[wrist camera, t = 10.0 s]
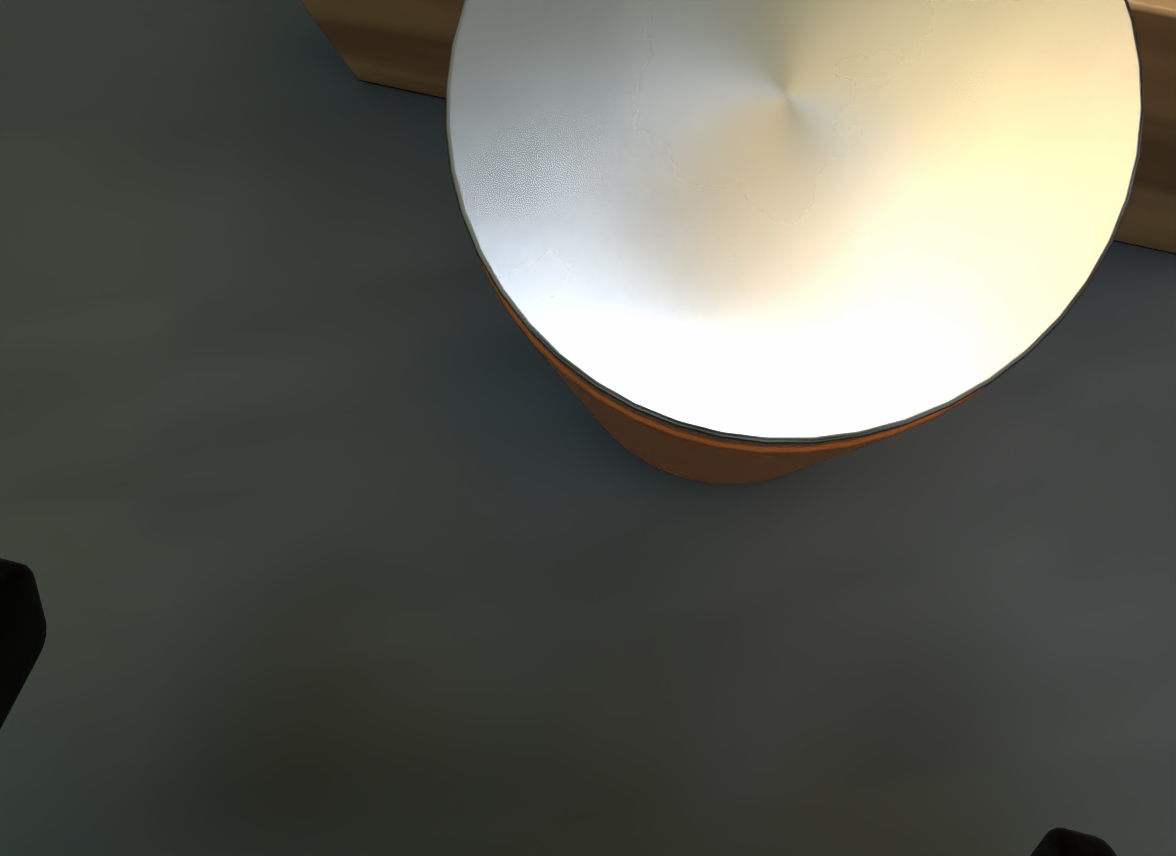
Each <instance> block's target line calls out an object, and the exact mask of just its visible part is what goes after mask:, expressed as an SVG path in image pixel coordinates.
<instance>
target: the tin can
mask: <svg viewBox="0 0 1176 856" xmlns="http://www.w3.org/2000/svg"><path fill="white" fill-rule="evenodd" d="M1143 119H1144V92H1143V66H1142V60H1141V54H1140V49H1139V43H1138V37H1137V32H1136V26H1135V21H1134V18H1133V15H1132V12H1131V9H1130V5H1129V2H1128V0H465V1H464V3H463V7H462V10H461V14H460V17H459V21H458V24H457V28H456V31H455V35H454V39H453V42H452V46H451V53H450V60H449V67H448V74H447V81H446V91H445V134H446V143H447V151H448V159H449V167H450V174H451V178H452V182H453V186H454V190H455V193H456V197H457V201H458V205H459V209H460V213H461V216H462V218H463V221H464V223H465V226H466V228H467V231H468V233H469V236H470V238H471V240H472V243H473V245H474V248H475V250H476V253H477V255H478V257H479V259H480V261H481V263H482V266H483V268H484V270H485V273H486V275H487V277H488V278H489V280H490V282H491V284H492V285H493V287H494V289H495V291H496V292H497V294H498V296H499V298H500V299H501V301H502V303H503V305H504V306H505V308H506V310H507V311H508V312H509V314H510V315H511V316H512V318H513V319H514V320H515V322H516V323H517V324H518V325H519V327H520V328H521V329H522V331H523V332H524V333H525V335H526V336H527V337H528V338H529V340H530V341H531V342H532V344H533V345H534V346H535V347H536V348H537V350H538V351H539V352H540V353H541V354H542V355H543V357H544V358H545V359H546V360H547V361H548V362H549V364H550V365H551V366H552V367H553V368H554V370H555V371H556V372H557V373H558V374H559V375H560V377H561V378H562V379H563V380H564V381H565V383H566V384H567V385H568V386H569V387H570V388H571V390H572V391H573V392H574V393H575V394H576V395H577V397H578V398H579V399H580V400H581V401H582V403H583V404H584V405H585V406H586V407H587V408H588V410H589V411H590V412H591V413H592V414H593V416H594V417H595V418H596V419H597V420H598V421H599V423H600V424H601V425H602V426H603V427H604V428H605V429H606V430H607V431H608V432H609V433H610V434H611V435H612V436H613V437H614V438H615V439H616V440H617V441H618V442H619V443H620V444H621V445H622V446H623V447H625V448H626V449H627V450H629V451H630V452H631V453H633V454H634V455H635V456H637V457H638V458H640V459H642V460H643V461H645V462H647V463H649V464H650V465H652V466H654V467H656V468H658V469H661V470H663V471H665V472H668V473H670V474H673V475H675V476H679V477H682V478H686V479H690V480H694V481H698V482H706V483H713V484H746V483H753V482H761V481H765V480H769V479H773V478H777V477H780V476H784V475H787V474H789V473H792V472H795V471H798V470H800V469H803V468H806V467H809V466H811V465H814V464H817V463H820V462H822V461H825V460H828V459H831V458H833V457H836V456H839V455H841V454H844V453H847V452H850V451H852V450H855V449H858V448H861V447H863V446H866V445H869V444H872V443H874V442H877V441H880V440H883V439H885V438H888V437H891V436H893V435H896V434H898V433H901V432H903V431H905V430H908V429H910V428H913V427H915V426H918V425H920V424H922V423H925V422H927V421H930V420H932V419H934V418H936V417H938V416H940V415H941V414H943V413H945V412H946V411H948V410H950V409H952V408H953V407H955V406H957V405H959V404H960V403H962V402H964V401H966V400H967V399H969V398H971V397H973V396H974V395H975V394H976V393H978V392H979V391H980V390H982V389H983V388H984V387H986V386H987V385H989V384H990V383H992V382H993V381H994V380H996V379H997V378H998V377H1000V376H1001V375H1002V374H1003V373H1005V372H1006V371H1007V370H1009V369H1010V368H1011V367H1013V366H1014V365H1015V364H1017V363H1018V362H1019V361H1020V360H1022V359H1023V358H1024V357H1026V356H1027V355H1028V354H1029V353H1030V352H1031V351H1032V350H1033V349H1034V348H1035V347H1036V346H1037V345H1038V344H1039V343H1040V342H1041V341H1042V340H1043V339H1044V338H1045V337H1046V336H1047V335H1048V334H1049V333H1050V332H1051V331H1052V330H1053V329H1054V328H1055V327H1056V326H1057V325H1058V324H1059V323H1060V322H1061V321H1062V320H1063V318H1064V317H1065V316H1066V314H1067V313H1068V312H1069V310H1070V309H1071V308H1072V306H1073V305H1074V304H1075V302H1076V301H1077V300H1078V298H1079V297H1080V296H1081V295H1082V293H1083V292H1084V291H1085V289H1086V288H1087V287H1088V285H1089V284H1090V282H1091V280H1092V278H1093V277H1094V275H1095V273H1096V271H1097V270H1098V268H1099V266H1100V264H1101V263H1102V261H1103V259H1104V257H1105V256H1106V254H1107V252H1108V250H1109V248H1110V247H1111V245H1112V243H1113V240H1114V238H1115V235H1116V233H1117V230H1118V228H1119V225H1120V222H1121V220H1122V217H1123V215H1124V212H1125V210H1126V207H1127V205H1128V202H1129V199H1130V195H1131V191H1132V186H1133V182H1134V178H1135V174H1136V170H1137V166H1138V162H1139V158H1140V149H1141V139H1142V129H1143Z"/></svg>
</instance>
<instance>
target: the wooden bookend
mask: <svg viewBox="0 0 1176 856" xmlns="http://www.w3.org/2000/svg"><path fill="white" fill-rule="evenodd" d="M300 1H301V3H302V4H303V5H304V7H305V8H306V9H307V11H308V12H309V14H310V15H311V16H312V18H313V19H314V20H315V22H316V23H317V24H318V26H319V27H320V28H321V30H322V31H323V33H324V34H325V35H326V37H327V38H328V39H329V41H330V42H331V43H332V45H333V46H334V48H335V49H336V50H337V52H338V53H339V54H340V56H341V57H342V58H343V60H344V61H345V63H346V64H347V65H348V67H349V68H350V69H351V71H352V72H353V73H354V75H355V76H356V77H357V78H358V79H359V80H363V81H368V82H372V83H377V84H382V85H387V86H391V87H396V88H401V89H405V90H410V91H415V92H419V93H424V94H429V95H434V96H438V97H443V98H445V91H446V81H447V74H448V67H449V60H450V53H451V46H452V42H453V39H454V35H455V31H456V28H457V24H458V21H459V17H460V14H461V10H462V7H463V3H464V1H465V0H300ZM1128 2H1129V5H1130V9H1131V12H1132V15H1133V18H1134V21H1135V26H1136V32H1137V37H1138V43H1139V49H1140V54H1141V60H1142V66H1143V92H1144V119H1143V129H1142V139H1141V149H1140V158H1139V162H1138V166H1137V170H1136V174H1135V178H1134V182H1133V186H1132V191H1131V195H1130V199H1129V202H1128V205H1127V207H1126V210H1125V212H1124V215H1123V217H1122V220H1121V222H1120V225H1119V228H1118V230H1117V233H1116V235H1115V238H1114V240H1116V241H1121V242H1126V243H1130V244H1135V245H1140V246H1144V247H1149V248H1154V249H1159V250H1163V251H1168V252H1173V253H1176V0H1128Z"/></svg>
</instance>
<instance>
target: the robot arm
mask: <svg viewBox="0 0 1176 856" xmlns="http://www.w3.org/2000/svg"><path fill="white" fill-rule="evenodd" d="M45 638H46V620H45V616H44V612H43V608H42V604H41V601H40V597H39V593H38V589H37V585H36V581H35V577H34V574H33V572H32V571H31V569H30V568H29V567H27V566H26V565H24V564H21V563H17V562H13V561H9V560H5V559H1V558H0V729H1V727H2V725H3V723H4V721H5V719H6V718H7V716H8V714H9V712H10V710H11V708H12V706H13V704H14V702H15V700H16V699H17V697H18V695H19V693H20V691H21V689H22V687H23V685H24V683H25V681H26V680H27V678H28V676H29V674H30V672H31V670H32V668H33V666H34V664H35V662H36V661H37V659H38V657H39V655H40V653H41V651H42V648H43V645H44V642H45ZM1031 856H1117V855H1116V854H1115V852H1114V851H1113V850H1112V848H1111V847H1110V846H1109V845H1108V844H1107V843H1106V842H1105V841H1104V840H1102V839H1100V838H1098V837H1096V836H1092V835H1088V834H1084V833H1080V832H1077V831H1073V830H1069V829H1065V828H1055V829H1052V830H1050V831H1049V832H1048V833H1047V834H1046V835H1045V836H1044V838H1043V839H1042V840H1041V842H1040V843H1039V845H1038V846H1037V847H1036V849H1035V850H1034V851H1033V853H1032V854H1031Z"/></svg>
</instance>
